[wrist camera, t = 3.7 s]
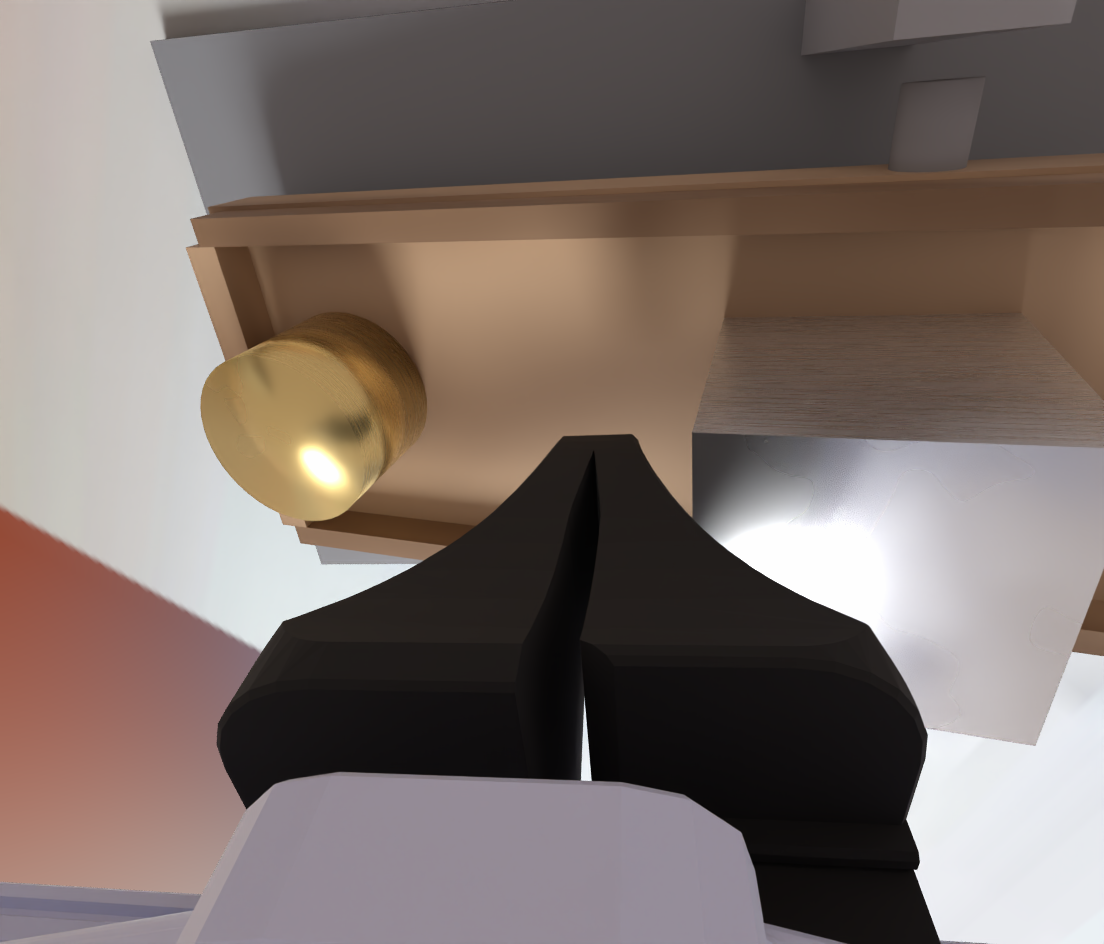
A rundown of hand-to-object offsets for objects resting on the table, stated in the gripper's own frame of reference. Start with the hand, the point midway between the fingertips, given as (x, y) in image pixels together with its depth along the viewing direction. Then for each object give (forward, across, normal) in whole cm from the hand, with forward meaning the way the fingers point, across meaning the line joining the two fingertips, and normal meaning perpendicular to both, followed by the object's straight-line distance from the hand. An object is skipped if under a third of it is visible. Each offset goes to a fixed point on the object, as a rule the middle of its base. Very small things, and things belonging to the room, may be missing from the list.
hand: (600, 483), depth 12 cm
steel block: (+2, -5, 0) cm, 6 cm away
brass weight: (+5, +6, 0) cm, 8 cm away
